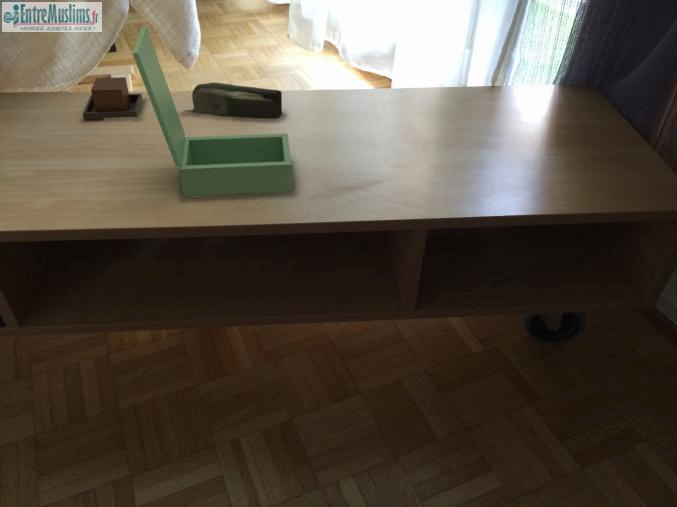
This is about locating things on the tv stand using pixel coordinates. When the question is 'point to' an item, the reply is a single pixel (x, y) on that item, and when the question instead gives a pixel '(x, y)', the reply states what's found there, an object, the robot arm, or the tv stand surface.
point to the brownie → (111, 94)
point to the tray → (133, 111)
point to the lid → (159, 94)
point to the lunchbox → (236, 165)
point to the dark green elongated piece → (236, 101)
